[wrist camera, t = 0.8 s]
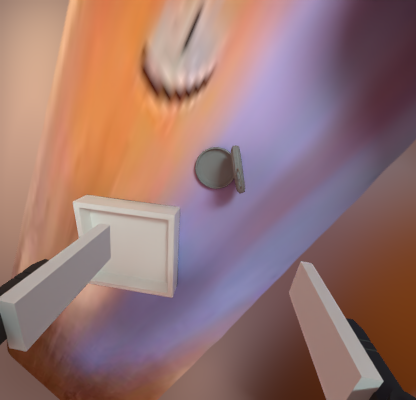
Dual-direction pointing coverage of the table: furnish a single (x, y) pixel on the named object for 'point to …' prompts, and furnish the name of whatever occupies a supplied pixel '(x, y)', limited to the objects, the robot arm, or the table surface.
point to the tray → (134, 243)
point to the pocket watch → (220, 168)
